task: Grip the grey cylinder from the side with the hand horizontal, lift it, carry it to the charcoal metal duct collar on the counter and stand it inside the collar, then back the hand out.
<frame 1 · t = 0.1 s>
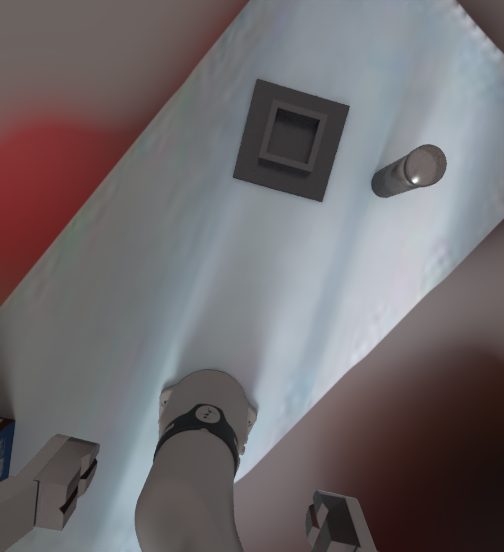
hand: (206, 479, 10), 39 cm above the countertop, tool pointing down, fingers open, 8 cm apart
grey cylinder: (385, 183, 47), on the countertop
duct collar: (290, 143, 45), on the countertop
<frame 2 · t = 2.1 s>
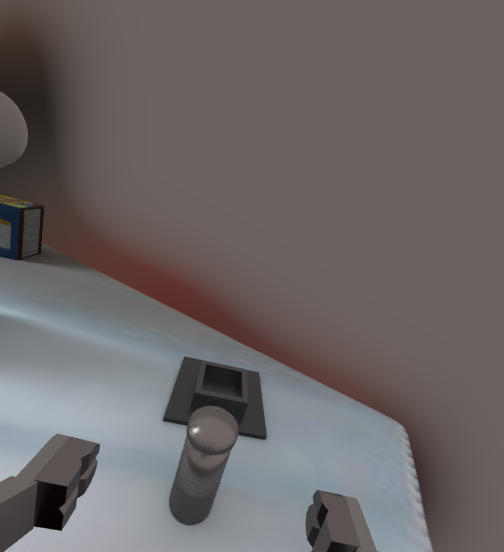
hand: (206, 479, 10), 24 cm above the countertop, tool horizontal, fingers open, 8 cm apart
grey cylinder: (191, 499, 31), on the countertop
duct collar: (219, 393, 48), on the countertop
protein box: (2, 251, 80), on the countertop
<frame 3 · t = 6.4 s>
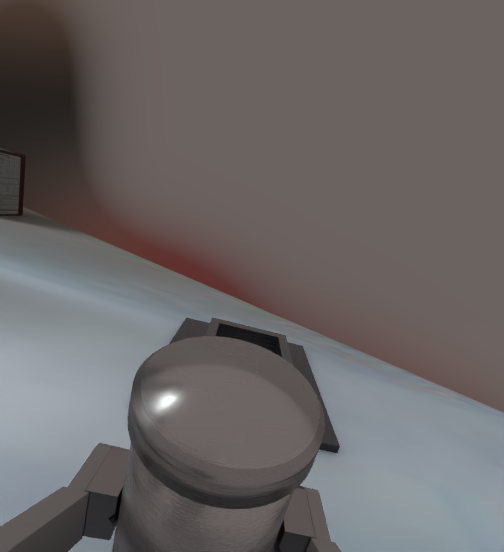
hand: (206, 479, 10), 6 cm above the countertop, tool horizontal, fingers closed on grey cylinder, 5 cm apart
duct collar: (241, 369, 28), on the countertop
when the fingers open (8 cm above the countertop, at t = 11.6 s): grey cylinder drops 1 cm, resting on duct collar.
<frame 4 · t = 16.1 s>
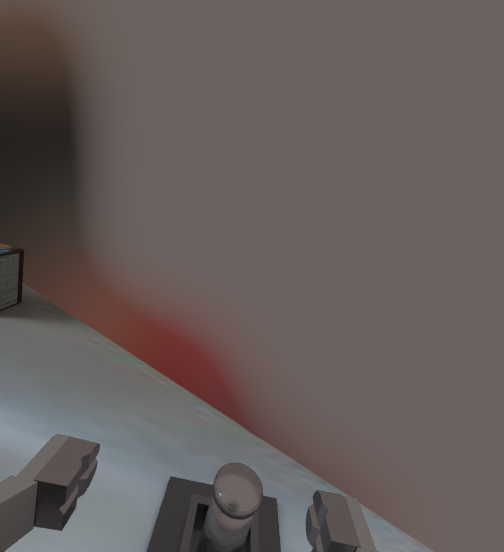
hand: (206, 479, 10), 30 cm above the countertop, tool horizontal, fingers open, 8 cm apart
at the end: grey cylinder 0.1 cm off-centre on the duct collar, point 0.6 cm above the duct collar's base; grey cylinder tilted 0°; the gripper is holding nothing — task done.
